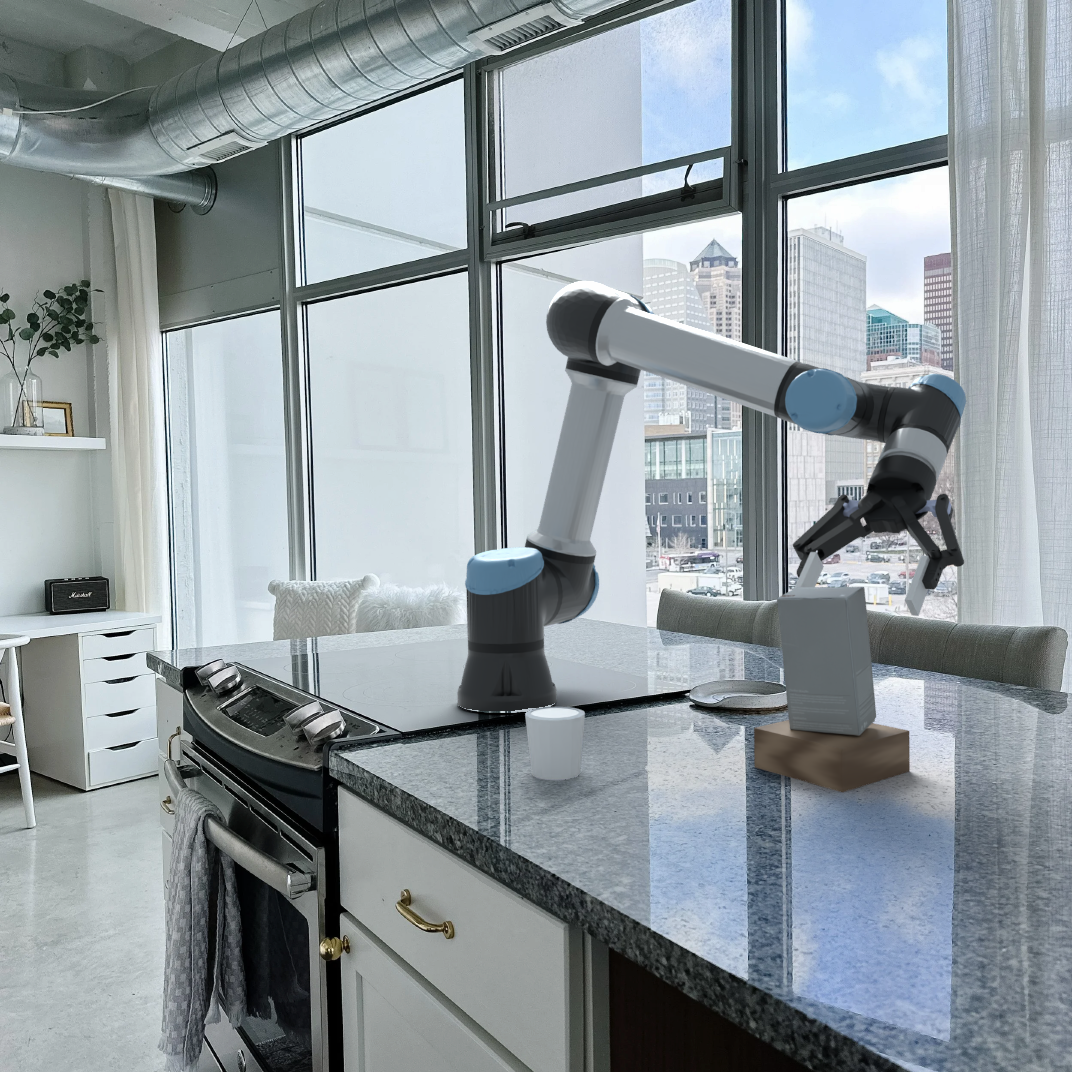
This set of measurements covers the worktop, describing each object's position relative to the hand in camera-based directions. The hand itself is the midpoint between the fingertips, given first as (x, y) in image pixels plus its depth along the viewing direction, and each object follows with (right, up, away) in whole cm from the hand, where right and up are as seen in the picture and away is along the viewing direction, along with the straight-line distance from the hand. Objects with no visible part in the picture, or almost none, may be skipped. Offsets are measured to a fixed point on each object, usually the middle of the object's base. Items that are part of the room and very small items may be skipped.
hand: (852, 604), depth 110 cm
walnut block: (-3, -19, -2) cm, 19 cm away
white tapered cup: (-34, -19, -1) cm, 39 cm away
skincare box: (-3, -14, -2) cm, 14 cm away
